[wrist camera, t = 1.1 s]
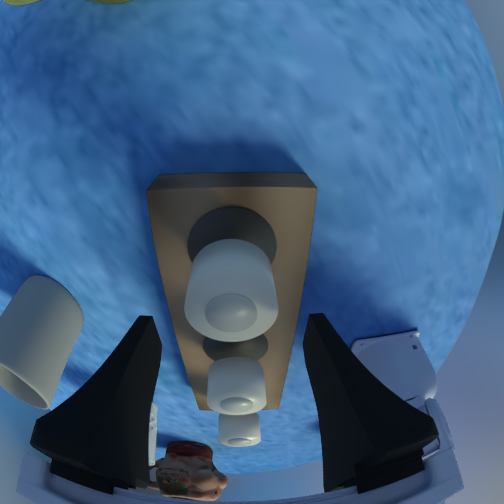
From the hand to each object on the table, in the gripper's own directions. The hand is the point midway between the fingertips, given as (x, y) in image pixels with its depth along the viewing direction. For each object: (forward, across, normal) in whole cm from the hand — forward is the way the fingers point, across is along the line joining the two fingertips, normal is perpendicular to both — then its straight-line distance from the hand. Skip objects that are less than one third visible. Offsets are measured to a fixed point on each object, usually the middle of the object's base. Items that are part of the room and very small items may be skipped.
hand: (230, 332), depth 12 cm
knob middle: (+4, 0, +10) cm, 11 cm away
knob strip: (+10, 0, +10) cm, 14 cm away
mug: (+10, +22, +9) cm, 26 cm away
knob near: (+4, 0, 0) cm, 4 cm away
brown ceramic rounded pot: (+10, +13, +54) cm, 56 cm away
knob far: (+4, 0, +20) cm, 20 cm away
